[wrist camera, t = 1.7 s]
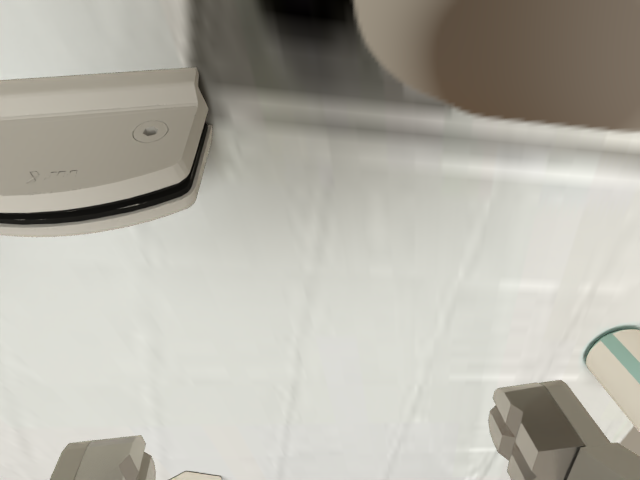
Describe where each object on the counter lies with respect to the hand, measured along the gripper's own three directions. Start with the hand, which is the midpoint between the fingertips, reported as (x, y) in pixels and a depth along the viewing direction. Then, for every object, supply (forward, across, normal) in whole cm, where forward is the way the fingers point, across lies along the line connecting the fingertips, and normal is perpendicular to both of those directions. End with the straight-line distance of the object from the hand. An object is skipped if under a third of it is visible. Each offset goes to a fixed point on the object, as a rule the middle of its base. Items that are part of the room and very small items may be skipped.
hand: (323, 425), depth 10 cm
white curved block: (+26, +14, 0) cm, 29 cm away
